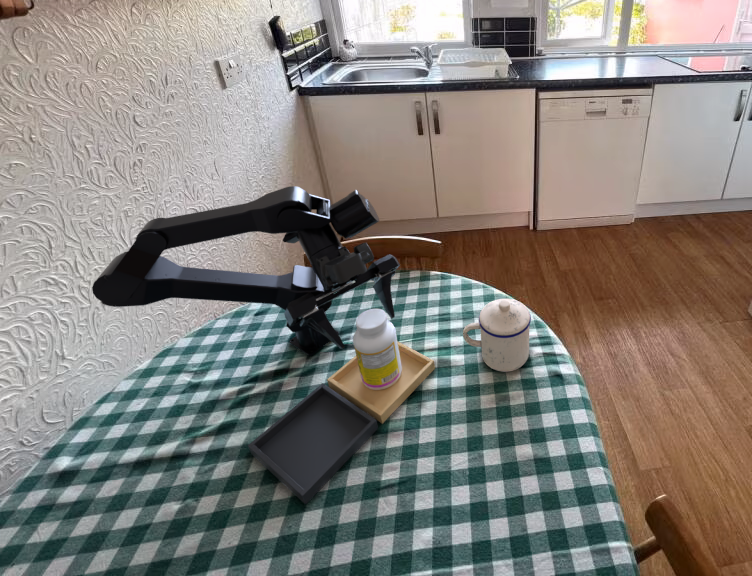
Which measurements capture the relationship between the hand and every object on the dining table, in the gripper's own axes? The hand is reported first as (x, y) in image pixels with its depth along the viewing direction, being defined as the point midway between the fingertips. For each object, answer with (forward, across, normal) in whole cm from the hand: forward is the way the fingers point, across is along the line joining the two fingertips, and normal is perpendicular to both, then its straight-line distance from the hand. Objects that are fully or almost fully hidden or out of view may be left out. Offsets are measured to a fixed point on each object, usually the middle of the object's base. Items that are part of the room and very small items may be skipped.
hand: (369, 332), depth 69 cm
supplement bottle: (+8, 0, +4) cm, 9 cm away
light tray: (+8, 0, +4) cm, 9 cm away
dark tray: (+10, -13, +2) cm, 16 cm away
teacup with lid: (+16, +17, -3) cm, 23 cm away
